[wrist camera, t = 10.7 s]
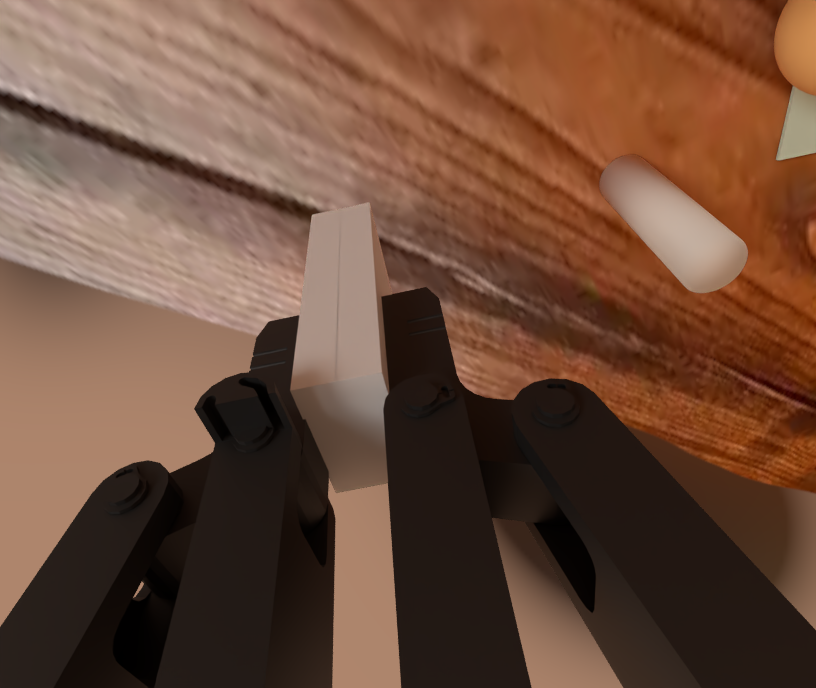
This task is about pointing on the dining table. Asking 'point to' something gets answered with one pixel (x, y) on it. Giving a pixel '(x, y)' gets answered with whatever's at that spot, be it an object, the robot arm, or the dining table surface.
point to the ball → (797, 44)
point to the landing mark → (798, 126)
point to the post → (673, 225)
